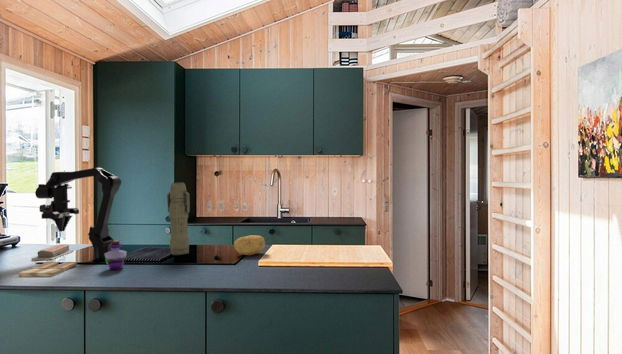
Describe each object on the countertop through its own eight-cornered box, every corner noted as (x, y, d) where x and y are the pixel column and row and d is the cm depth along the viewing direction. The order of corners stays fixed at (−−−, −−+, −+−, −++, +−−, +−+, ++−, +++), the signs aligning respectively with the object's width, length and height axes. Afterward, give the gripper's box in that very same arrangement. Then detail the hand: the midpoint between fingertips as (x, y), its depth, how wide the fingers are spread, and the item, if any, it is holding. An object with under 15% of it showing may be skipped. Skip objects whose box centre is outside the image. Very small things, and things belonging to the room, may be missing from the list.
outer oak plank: (58, 264, 181) (58, 261, 180) (43, 271, 171) (43, 268, 171) (47, 264, 181) (47, 261, 181) (32, 271, 172) (32, 268, 172)
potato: (263, 257, 193) (263, 236, 193) (233, 257, 193) (232, 237, 193) (266, 252, 203) (266, 233, 203) (237, 252, 204) (237, 233, 203)
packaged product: (53, 243, 209) (73, 243, 210) (53, 253, 209) (73, 252, 210) (30, 251, 191) (52, 250, 192) (31, 261, 191) (53, 261, 192)
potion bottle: (99, 270, 172) (99, 242, 172) (116, 265, 180) (115, 238, 180) (115, 272, 169) (114, 243, 168) (131, 267, 177) (130, 239, 176)
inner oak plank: (77, 264, 180) (77, 261, 180) (63, 271, 171) (63, 268, 171) (66, 264, 180) (66, 261, 180) (51, 271, 171) (51, 268, 171)
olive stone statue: (173, 250, 209) (171, 182, 208) (194, 251, 207) (193, 182, 205) (163, 254, 200) (162, 183, 199) (186, 255, 198) (184, 183, 197)
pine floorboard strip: (64, 271, 171) (63, 267, 171) (52, 276, 164) (52, 271, 164) (31, 271, 171) (31, 267, 171) (18, 276, 164) (18, 271, 164)
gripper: (57, 196, 203) (58, 228, 204) (29, 200, 185) (30, 234, 185) (79, 196, 203) (80, 228, 203) (53, 200, 184) (54, 234, 185)
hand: (61, 231), depth 194 cm, fingers closed
